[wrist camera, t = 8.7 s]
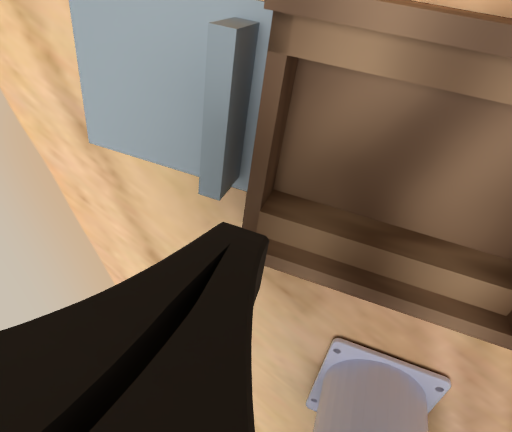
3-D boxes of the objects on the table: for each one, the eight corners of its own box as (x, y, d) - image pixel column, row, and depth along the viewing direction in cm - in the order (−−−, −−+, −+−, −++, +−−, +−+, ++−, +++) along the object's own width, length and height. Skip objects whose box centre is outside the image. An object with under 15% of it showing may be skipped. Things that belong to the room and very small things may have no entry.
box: (690, 50, 12) (797, 76, 9) (501, 289, 19) (522, 353, 16) (297, -20, 15) (267, -20, 12) (257, 212, 22) (231, 254, 19)
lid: (282, 3, 16) (256, 8, 13) (253, 186, 22) (230, 217, 19) (75, -39, 18) (13, -42, 15) (97, 138, 24) (55, 160, 21)
